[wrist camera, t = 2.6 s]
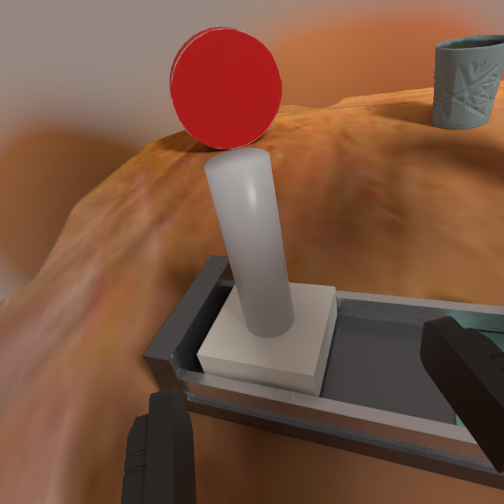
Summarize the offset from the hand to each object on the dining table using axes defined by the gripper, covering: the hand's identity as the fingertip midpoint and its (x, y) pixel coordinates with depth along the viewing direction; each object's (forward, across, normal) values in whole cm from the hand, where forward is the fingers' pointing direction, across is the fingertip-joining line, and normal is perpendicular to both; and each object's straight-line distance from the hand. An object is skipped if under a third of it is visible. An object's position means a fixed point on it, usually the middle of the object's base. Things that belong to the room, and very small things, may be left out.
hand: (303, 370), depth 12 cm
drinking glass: (+50, -42, +13) cm, 67 cm away
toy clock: (+66, -5, +14) cm, 67 cm away
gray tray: (+9, -6, +14) cm, 17 cm away
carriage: (+12, 0, +12) cm, 17 cm away
